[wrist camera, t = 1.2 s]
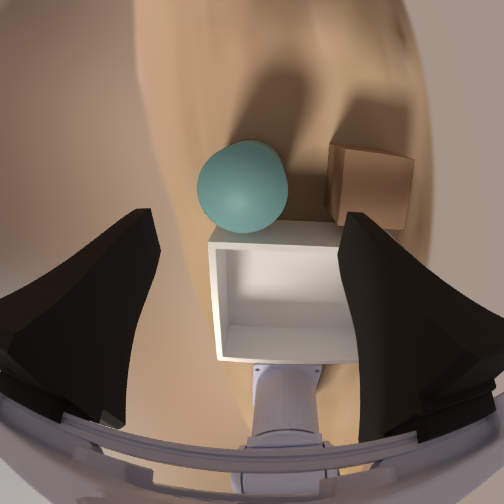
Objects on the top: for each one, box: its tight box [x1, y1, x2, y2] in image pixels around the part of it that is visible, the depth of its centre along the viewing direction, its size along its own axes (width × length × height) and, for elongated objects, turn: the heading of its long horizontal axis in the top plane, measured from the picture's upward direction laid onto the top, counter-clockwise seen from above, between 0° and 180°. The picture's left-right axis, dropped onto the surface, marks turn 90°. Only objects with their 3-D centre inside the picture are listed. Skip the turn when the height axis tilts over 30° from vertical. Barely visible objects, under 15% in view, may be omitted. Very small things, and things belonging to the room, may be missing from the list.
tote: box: [208, 220, 398, 364], centre depth 23 cm, size 12×14×5 cm
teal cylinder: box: [197, 140, 288, 233], centre depth 18 cm, size 5×5×7 cm
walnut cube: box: [325, 144, 415, 230], centre depth 18 cm, size 5×5×5 cm
